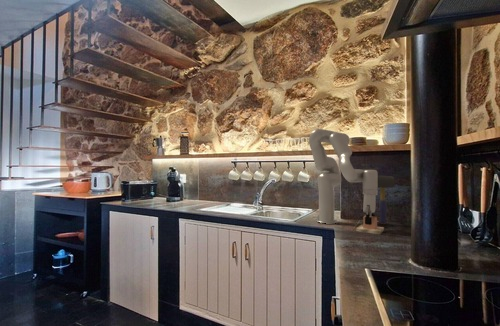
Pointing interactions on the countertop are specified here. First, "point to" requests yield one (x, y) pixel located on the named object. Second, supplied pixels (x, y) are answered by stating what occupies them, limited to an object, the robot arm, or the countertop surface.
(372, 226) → the orange brown cube
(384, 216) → the rubber mallet
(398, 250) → the countertop surface
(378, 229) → the post base
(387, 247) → the countertop surface
